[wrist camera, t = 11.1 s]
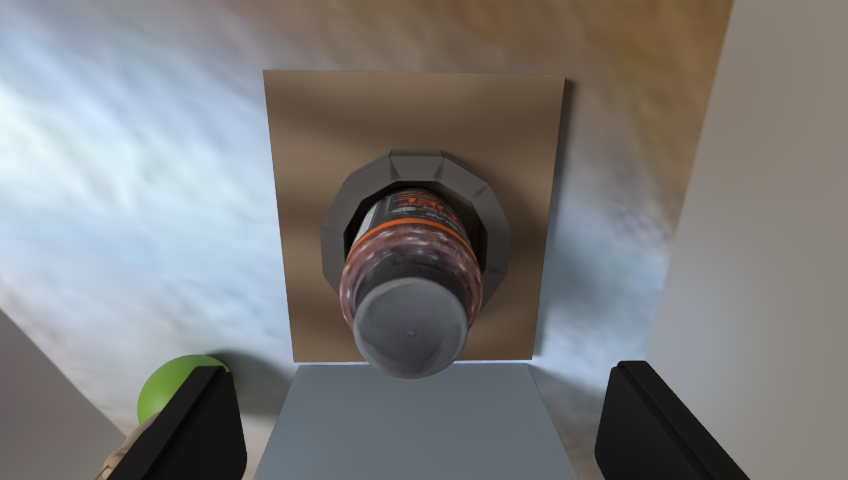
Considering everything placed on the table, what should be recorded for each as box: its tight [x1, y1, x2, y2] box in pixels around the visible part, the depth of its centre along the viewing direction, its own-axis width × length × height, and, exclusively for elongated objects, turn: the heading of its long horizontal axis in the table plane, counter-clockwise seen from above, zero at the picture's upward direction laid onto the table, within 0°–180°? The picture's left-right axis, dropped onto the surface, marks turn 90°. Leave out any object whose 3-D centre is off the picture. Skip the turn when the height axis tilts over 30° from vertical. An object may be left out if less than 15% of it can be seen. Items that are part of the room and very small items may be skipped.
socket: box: [263, 70, 565, 362], centre depth 24 cm, size 18×16×4 cm
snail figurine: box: [94, 355, 237, 480], centre depth 23 cm, size 5×6×12 cm
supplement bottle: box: [339, 185, 483, 379], centre depth 19 cm, size 6×6×11 cm
